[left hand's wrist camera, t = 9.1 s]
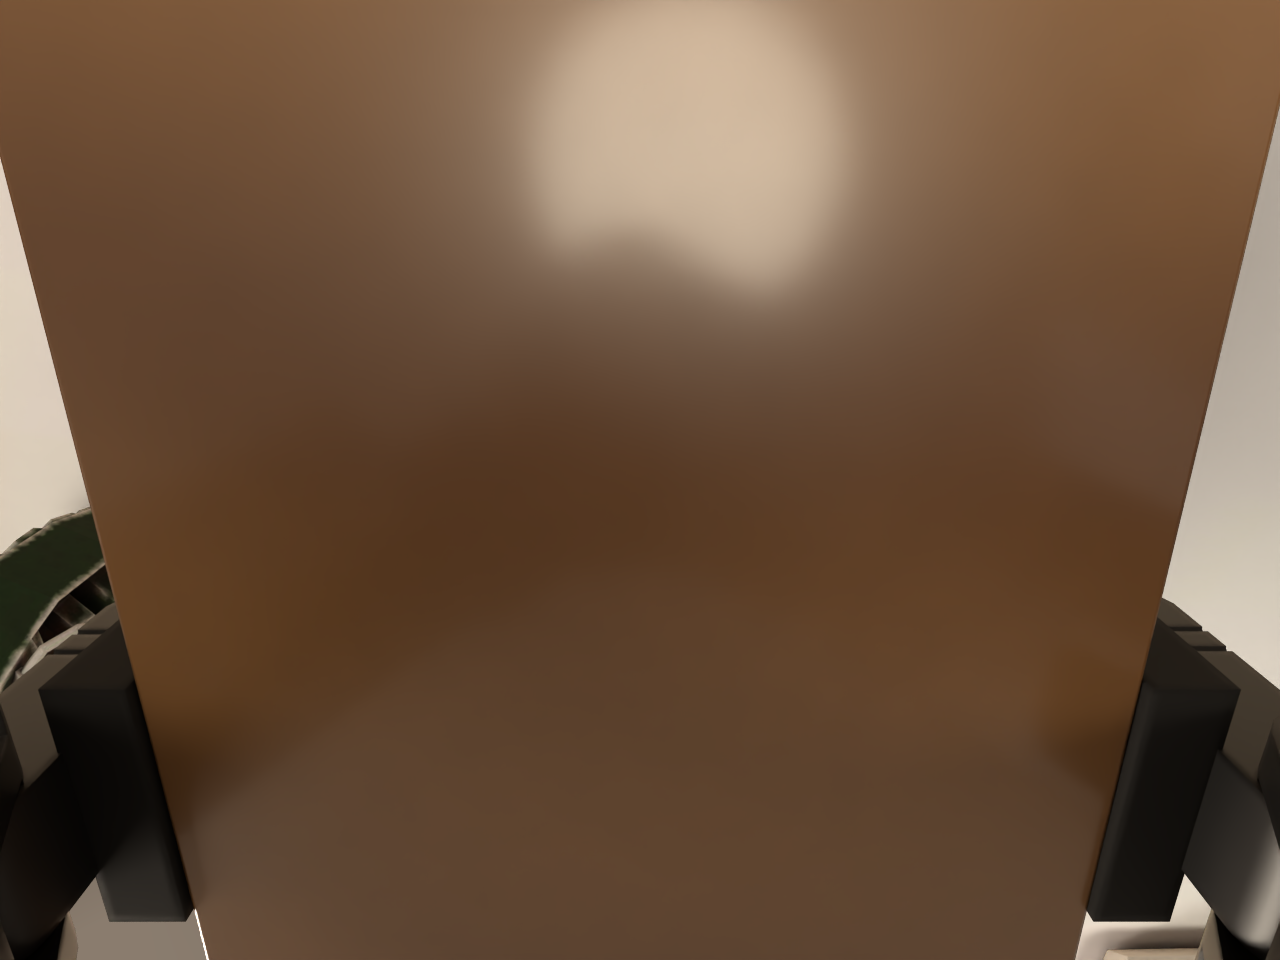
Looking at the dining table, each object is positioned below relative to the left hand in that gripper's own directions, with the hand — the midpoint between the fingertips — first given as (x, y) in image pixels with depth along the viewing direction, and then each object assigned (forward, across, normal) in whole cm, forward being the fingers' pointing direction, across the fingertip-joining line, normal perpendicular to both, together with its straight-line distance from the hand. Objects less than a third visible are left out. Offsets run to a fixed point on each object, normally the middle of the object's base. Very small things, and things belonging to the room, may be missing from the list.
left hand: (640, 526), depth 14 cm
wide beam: (+1, 0, -21) cm, 21 cm away
